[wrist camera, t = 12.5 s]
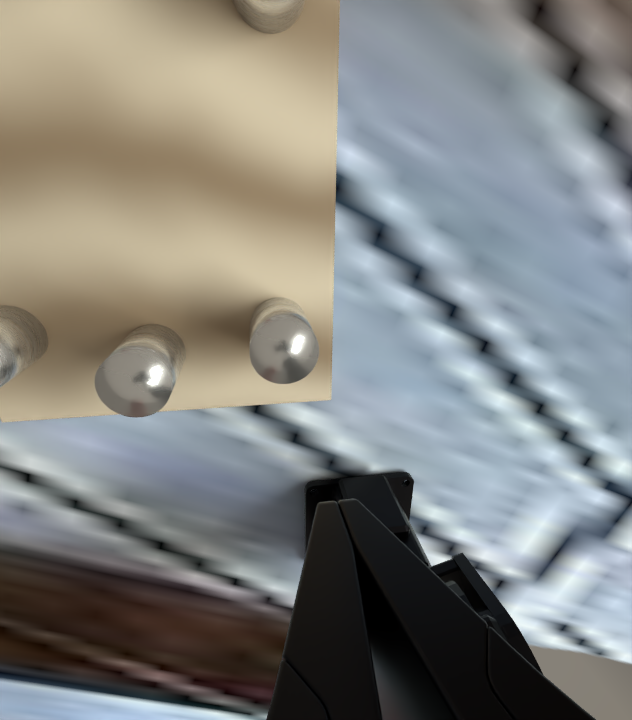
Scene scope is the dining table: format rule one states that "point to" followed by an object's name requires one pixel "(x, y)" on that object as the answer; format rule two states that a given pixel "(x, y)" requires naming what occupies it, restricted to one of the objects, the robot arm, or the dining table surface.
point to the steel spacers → (163, 345)
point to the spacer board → (164, 190)
